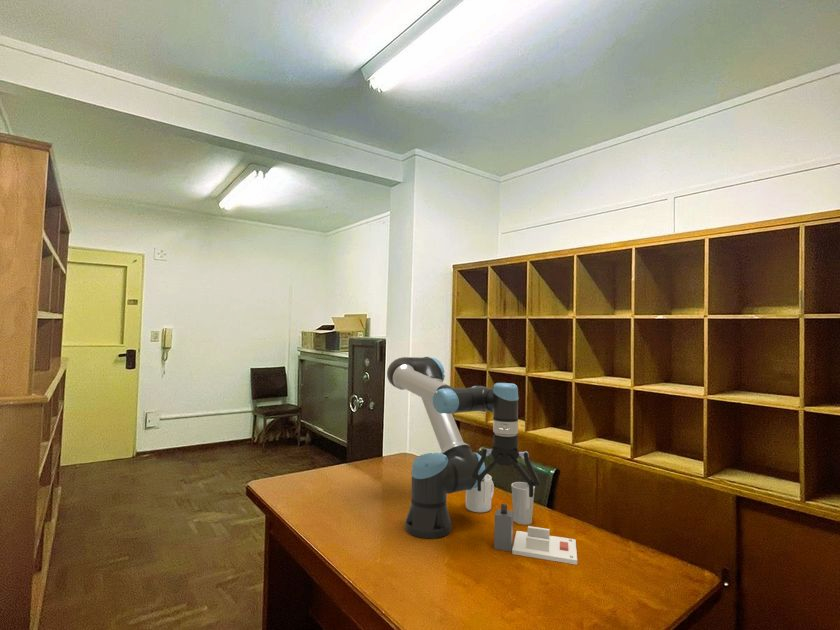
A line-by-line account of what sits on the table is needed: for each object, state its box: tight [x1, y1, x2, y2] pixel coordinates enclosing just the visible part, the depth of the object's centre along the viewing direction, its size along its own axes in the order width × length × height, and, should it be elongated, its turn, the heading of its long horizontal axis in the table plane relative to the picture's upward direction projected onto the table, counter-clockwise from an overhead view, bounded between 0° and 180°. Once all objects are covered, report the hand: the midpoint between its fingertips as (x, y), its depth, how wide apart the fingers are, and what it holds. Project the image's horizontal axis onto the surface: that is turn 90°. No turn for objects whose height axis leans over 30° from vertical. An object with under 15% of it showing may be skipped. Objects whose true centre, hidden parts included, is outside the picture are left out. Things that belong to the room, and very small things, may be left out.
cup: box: [510, 481, 536, 525], centre depth 156 cm, size 8×8×12 cm
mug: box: [465, 473, 495, 514], centre depth 167 cm, size 10×12×12 cm
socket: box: [511, 525, 578, 566], centre depth 135 cm, size 18×14×4 cm
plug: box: [493, 503, 514, 553], centre depth 136 cm, size 5×5×12 cm
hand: (504, 504), depth 136 cm, fingers open, 13 cm apart
